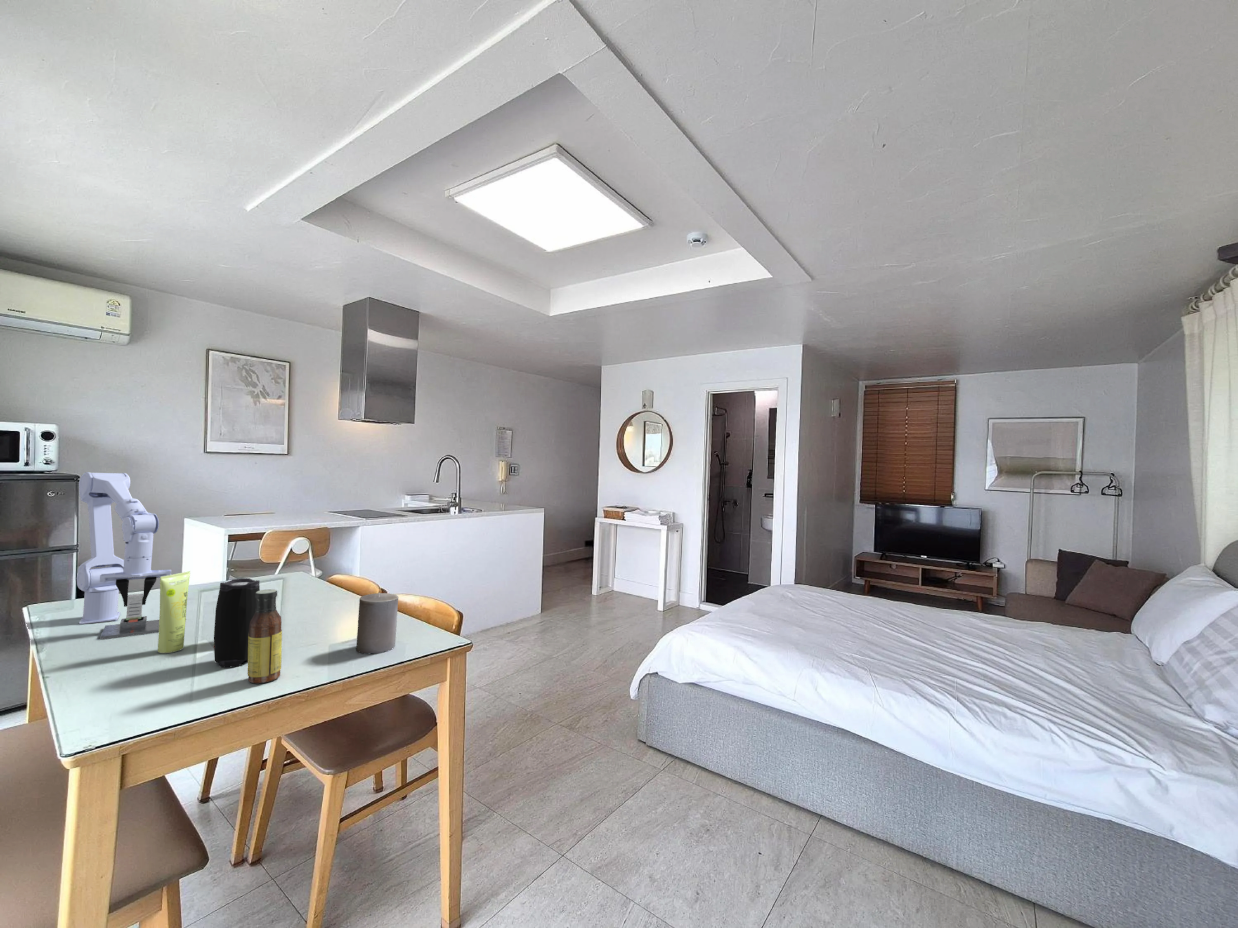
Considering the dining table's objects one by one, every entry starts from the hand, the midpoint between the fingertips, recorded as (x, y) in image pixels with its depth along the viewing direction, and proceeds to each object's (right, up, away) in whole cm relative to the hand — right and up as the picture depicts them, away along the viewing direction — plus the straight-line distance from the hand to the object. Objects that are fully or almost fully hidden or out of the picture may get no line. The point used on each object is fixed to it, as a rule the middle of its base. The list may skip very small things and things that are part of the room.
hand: (134, 604), depth 143 cm
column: (0, -4, 0) cm, 4 cm away
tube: (+23, -8, -15) cm, 28 cm away
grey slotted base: (0, -7, 0) cm, 7 cm away
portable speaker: (+44, -8, -20) cm, 49 cm away
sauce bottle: (+57, -9, -30) cm, 65 cm away
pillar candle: (+72, -10, -6) cm, 72 cm away
